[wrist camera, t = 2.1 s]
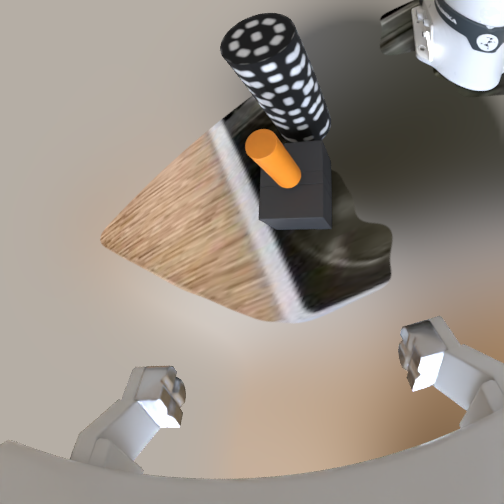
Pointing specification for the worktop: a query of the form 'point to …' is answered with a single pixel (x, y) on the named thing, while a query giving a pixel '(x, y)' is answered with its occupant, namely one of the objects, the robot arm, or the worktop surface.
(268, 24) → the spotted tube
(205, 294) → the worktop surface
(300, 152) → the holder
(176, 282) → the worktop surface
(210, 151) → the worktop surface
